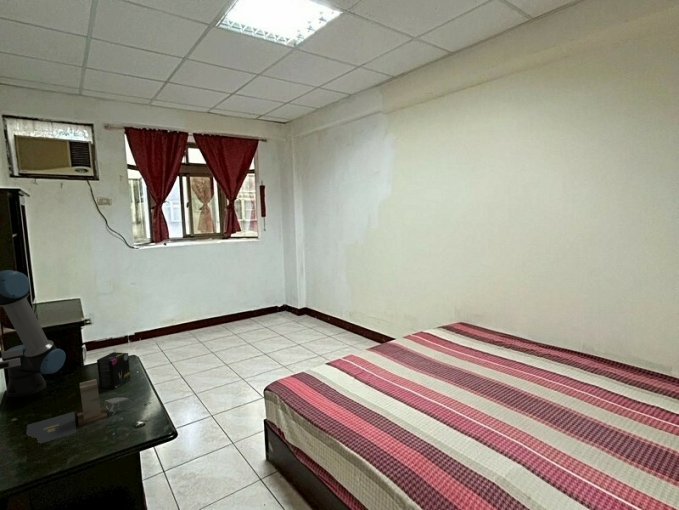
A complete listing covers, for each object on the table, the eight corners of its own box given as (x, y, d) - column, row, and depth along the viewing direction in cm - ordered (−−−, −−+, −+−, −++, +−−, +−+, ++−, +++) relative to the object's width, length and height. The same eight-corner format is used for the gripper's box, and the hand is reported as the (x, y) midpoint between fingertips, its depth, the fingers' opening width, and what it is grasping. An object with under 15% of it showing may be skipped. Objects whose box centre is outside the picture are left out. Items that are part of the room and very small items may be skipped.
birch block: (83, 414, 162) (79, 383, 160) (99, 409, 165) (96, 378, 164) (84, 420, 157) (80, 388, 155) (100, 415, 161) (97, 383, 159)
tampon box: (115, 389, 186) (112, 360, 184) (99, 388, 188) (96, 359, 186) (131, 379, 197) (128, 352, 195) (116, 378, 199) (113, 351, 197)
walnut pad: (77, 415, 162) (77, 413, 162) (104, 408, 168) (104, 405, 168) (78, 426, 154) (78, 423, 154) (107, 417, 160) (107, 415, 160)
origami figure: (101, 418, 160) (100, 407, 159) (105, 409, 168) (104, 398, 167) (133, 412, 164) (132, 401, 164) (136, 403, 172) (135, 393, 171)
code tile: (27, 425, 156) (27, 424, 156) (74, 411, 166) (74, 411, 166) (24, 448, 140) (24, 448, 140) (76, 432, 150) (76, 432, 150)
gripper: (-45, 369, 150) (24, 356, 162) (-60, 393, 130) (20, 375, 142) (-48, 351, 149) (22, 339, 161) (-64, 372, 129) (17, 356, 141)
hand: (21, 356), depth 152 cm, fingers open, 13 cm apart
